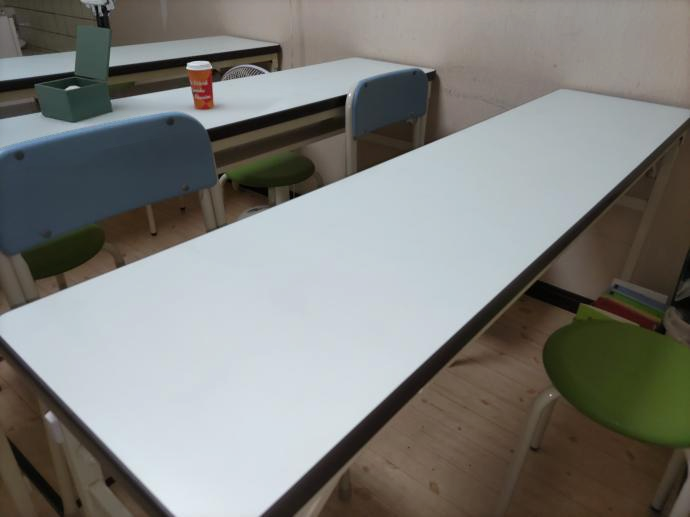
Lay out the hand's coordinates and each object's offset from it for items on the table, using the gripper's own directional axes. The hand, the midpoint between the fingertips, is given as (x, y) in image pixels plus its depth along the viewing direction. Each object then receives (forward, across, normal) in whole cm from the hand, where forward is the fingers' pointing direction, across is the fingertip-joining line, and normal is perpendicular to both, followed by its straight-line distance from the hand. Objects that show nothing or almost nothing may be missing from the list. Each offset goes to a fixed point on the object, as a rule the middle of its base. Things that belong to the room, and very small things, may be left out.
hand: (104, 30), depth 152 cm
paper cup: (+22, +27, +10) cm, 36 cm away
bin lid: (+5, 0, -6) cm, 8 cm away
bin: (+22, 0, -15) cm, 26 cm away
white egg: (+21, 0, -16) cm, 26 cm away
